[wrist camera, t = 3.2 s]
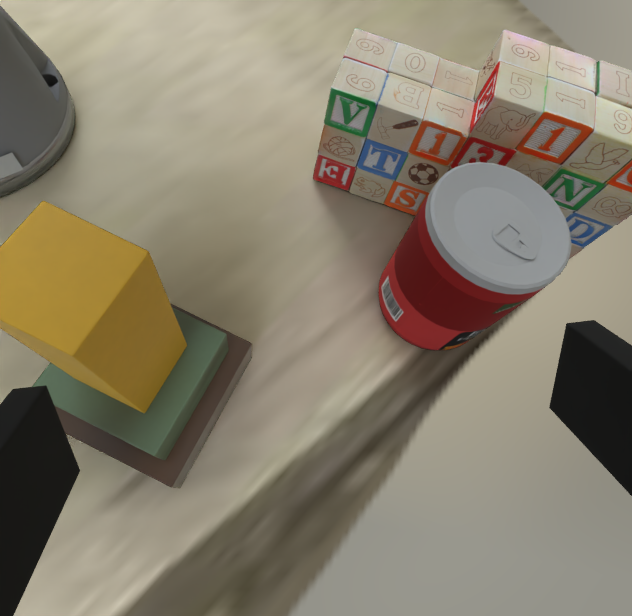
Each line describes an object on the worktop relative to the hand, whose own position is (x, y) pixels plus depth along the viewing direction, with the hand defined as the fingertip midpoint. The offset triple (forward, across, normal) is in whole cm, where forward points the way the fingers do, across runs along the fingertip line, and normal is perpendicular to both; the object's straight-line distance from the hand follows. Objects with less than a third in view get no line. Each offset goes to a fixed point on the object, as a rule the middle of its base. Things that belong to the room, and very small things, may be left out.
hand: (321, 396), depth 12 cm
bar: (+11, -9, -5) cm, 15 cm away
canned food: (+20, +10, -8) cm, 24 cm away
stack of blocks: (+27, +14, -2) cm, 30 cm away
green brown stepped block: (+15, -9, -9) cm, 20 cm away
